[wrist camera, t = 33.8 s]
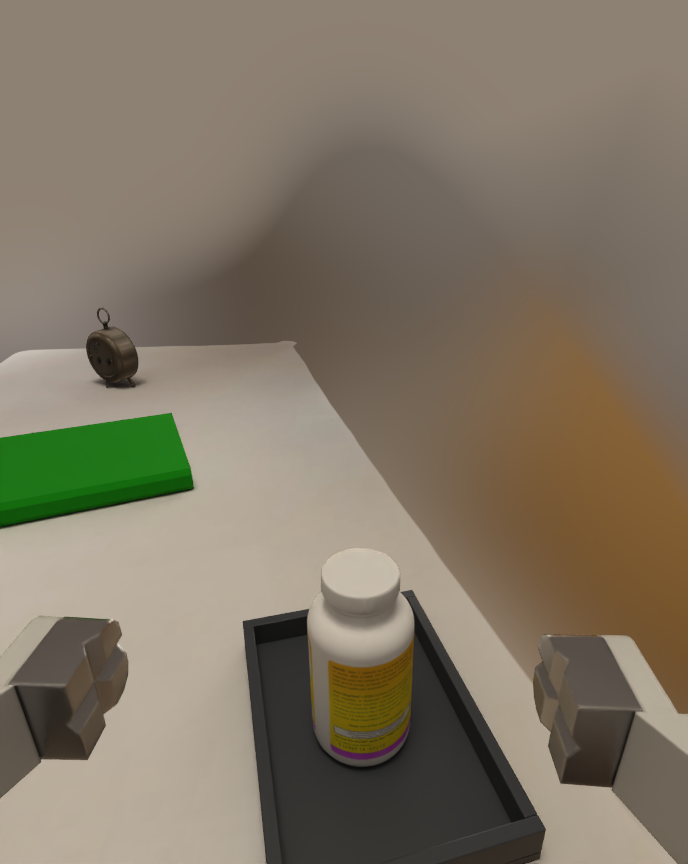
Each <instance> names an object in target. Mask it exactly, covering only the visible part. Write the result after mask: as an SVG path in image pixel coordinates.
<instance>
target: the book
mask: <svg viewBox="0 0 688 864" xmlns="http://www.w3.org/2000/svg"><path fill="white" fill-rule="evenodd" d="M188 489H193V480H192V474H191V469H190V465H189V463H188V460H187V457H186V454H185V451H184V448H183V445H182V442H181V439H180V436H179V433H178V430H177V428H176V425H175V422H174V419H173V416H172V413H169V414H162V415H155V416H148V417H141V418H134V419H127V420H120V421H113V422H106V423H100V424H93V425H86V426H79V427H72V428H65V429H58V430H51V431H44V432H37V433H30V434H24V435H17V436H10V437H3V438H0V527H2V526H7V525H12V524H17V523H22V522H27V521H32V520H37V519H42V518H47V517H52V516H57V515H63V514H68V513H73V512H78V511H83V510H88V509H93V508H98V507H103V506H108V505H113V504H118V503H123V502H128V501H133V500H138V499H143V498H148V497H153V496H158V495H163V494H168V493H173V492H178V491H183V490H188Z"/></svg>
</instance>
